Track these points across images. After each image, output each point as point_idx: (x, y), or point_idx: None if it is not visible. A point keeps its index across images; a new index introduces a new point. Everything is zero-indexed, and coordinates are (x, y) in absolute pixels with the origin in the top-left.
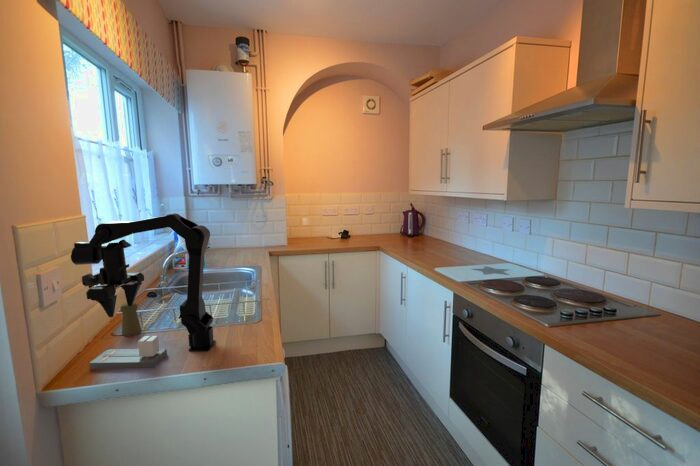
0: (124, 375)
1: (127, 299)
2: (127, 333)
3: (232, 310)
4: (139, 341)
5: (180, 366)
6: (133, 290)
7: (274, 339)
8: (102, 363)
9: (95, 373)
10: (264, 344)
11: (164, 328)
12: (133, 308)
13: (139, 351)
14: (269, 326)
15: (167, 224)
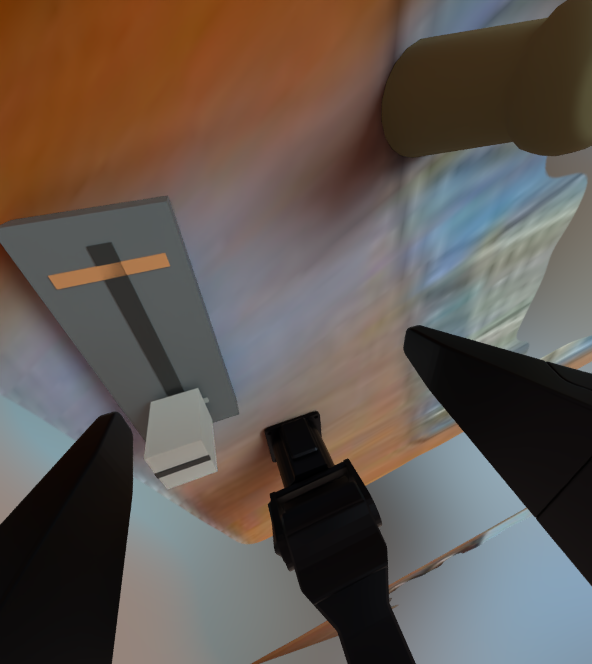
0: (69, 391)
1: (463, 368)
2: (391, 111)
3: None
4: (147, 461)
5: None
6: (555, 506)
7: None
8: (43, 295)
9: (5, 281)
10: None
11: (429, 247)
12: (535, 150)
13: (149, 420)
14: (390, 467)
15: None
